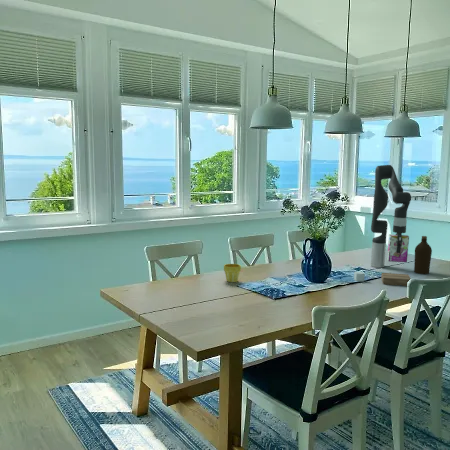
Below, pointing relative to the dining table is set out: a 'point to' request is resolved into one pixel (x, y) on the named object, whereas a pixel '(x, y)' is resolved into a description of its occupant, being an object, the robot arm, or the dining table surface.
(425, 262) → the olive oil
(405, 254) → the candy bar box
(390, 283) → the walnut plinth
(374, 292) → the dining table surface
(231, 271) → the plant pot
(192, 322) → the dining table surface
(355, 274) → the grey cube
